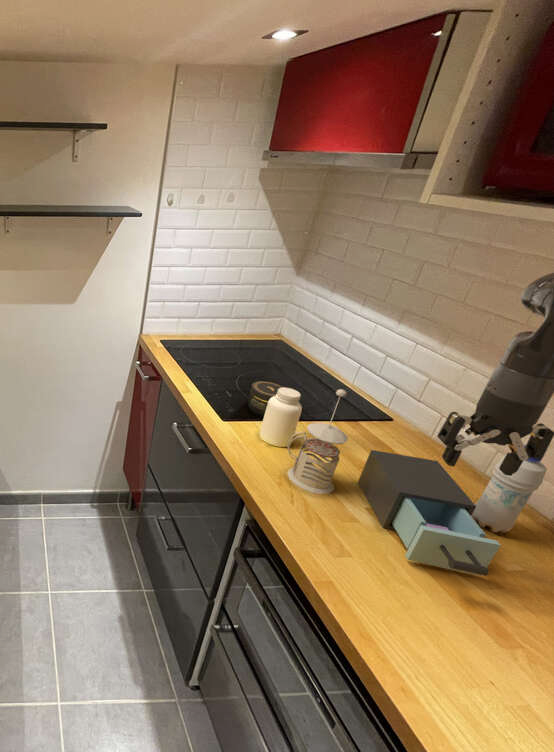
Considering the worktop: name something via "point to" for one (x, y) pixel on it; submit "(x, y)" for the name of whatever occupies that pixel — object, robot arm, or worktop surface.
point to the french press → (307, 472)
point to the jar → (261, 396)
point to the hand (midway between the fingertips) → (476, 468)
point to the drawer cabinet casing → (407, 484)
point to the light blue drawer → (443, 536)
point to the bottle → (508, 495)
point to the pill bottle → (281, 417)
